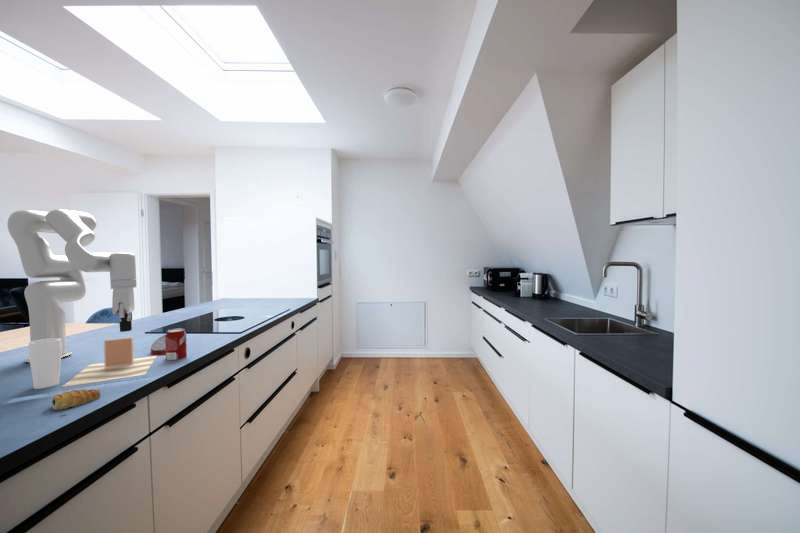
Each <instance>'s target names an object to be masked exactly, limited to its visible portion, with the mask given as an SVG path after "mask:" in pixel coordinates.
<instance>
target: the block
mask: <svg viewBox="0 0 800 533" xmlns="http://www.w3.org/2000/svg"><path fill="white" fill-rule="evenodd" d="M103 359H104V360H103V363H104V368H107V367H115V366H122V365H129V364H134V363H135V362H134V359H135V336H132V335H131V336H125V337H123V336H122V337H116V338H115V337H113V338H106V339H103Z"/></svg>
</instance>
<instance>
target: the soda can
mask: <svg viewBox="0 0 800 533" xmlns="http://www.w3.org/2000/svg"><path fill="white" fill-rule="evenodd" d="M164 335H165V347H166V354H165V360H166V361H177V360H181V359H184V358H185V359H186V358H188V354H187V351H188V348H187V345H188V344H187V332H186V331H185V328H181V327H179V328H172V329H168V330H167V331H166V334H164Z"/></svg>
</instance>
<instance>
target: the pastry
mask: <svg viewBox="0 0 800 533" xmlns="http://www.w3.org/2000/svg"><path fill="white" fill-rule="evenodd" d="M100 397H101V392H100V390H99V389H94V388H93V389H92V388H91V389H71V390H70V391H65V392H62V393H60V394H59V393H58V394H57V393H56V394H54V395H53V397H52V400H51V405H52V406H51V408H52V409H53V410H54V411H62V409H64V410H66V409H69V408H72V407H73V408H75V407H78V406H77V405H79V406H80V404H81V405H84V404H83V403H85V404H87V403H86V402H88V403H90V402H89V401H91V402H93V401H95V400H97V399H99V398H100ZM92 400H93V401H92ZM74 406H75V407H74Z"/></svg>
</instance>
